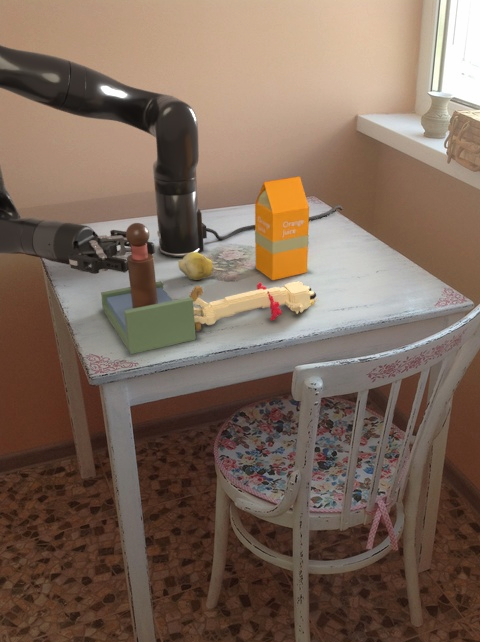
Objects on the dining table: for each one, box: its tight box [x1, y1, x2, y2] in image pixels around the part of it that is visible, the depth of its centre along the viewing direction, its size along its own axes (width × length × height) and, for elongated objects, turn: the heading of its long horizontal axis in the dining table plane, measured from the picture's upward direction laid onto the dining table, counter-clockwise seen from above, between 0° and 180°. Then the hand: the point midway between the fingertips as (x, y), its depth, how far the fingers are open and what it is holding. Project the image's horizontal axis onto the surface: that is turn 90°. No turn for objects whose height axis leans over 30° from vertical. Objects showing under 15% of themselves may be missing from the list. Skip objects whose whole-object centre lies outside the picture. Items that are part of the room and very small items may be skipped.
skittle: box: [125, 222, 158, 309], centre depth 124 cm, size 5×5×16 cm
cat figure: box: [189, 280, 319, 332], centre depth 132 cm, size 10×9×25 cm
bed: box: [100, 281, 197, 355], centre depth 129 cm, size 12×18×8 cm, turn 27°
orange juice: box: [254, 175, 310, 281], centre depth 148 cm, size 8×9×20 cm
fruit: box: [177, 252, 225, 281], centre depth 148 cm, size 6×6×10 cm
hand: (140, 257), depth 124 cm, fingers open, 8 cm apart
